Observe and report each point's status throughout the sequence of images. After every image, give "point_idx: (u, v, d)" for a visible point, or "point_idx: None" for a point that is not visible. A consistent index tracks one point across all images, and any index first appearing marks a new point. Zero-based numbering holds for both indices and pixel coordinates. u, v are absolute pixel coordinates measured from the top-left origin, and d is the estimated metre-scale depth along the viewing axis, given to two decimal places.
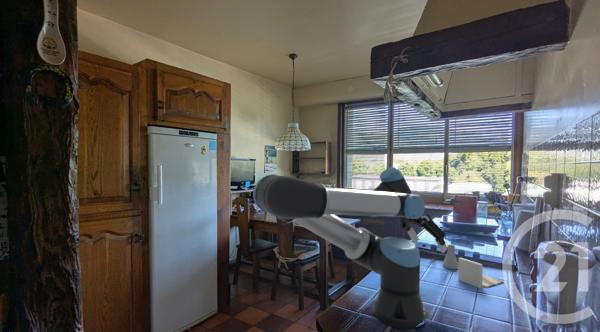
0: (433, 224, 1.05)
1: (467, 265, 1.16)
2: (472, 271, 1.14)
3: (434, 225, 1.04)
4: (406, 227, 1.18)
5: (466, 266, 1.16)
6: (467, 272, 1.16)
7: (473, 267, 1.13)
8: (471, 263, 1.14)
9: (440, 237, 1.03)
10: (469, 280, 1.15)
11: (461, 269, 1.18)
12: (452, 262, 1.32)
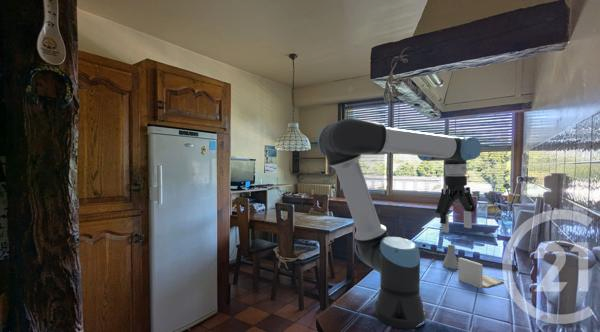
0: (443, 198, 1.09)
1: (467, 265, 1.16)
2: (472, 271, 1.14)
3: (443, 199, 1.09)
4: None
5: (466, 266, 1.16)
6: (467, 272, 1.16)
7: (473, 267, 1.13)
8: (471, 263, 1.14)
9: (436, 210, 1.09)
10: (469, 280, 1.15)
11: (461, 269, 1.18)
12: (452, 262, 1.32)
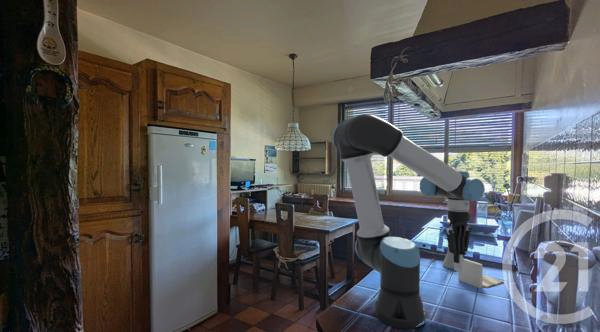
0: (450, 239, 1.10)
1: (467, 265, 1.16)
2: (472, 271, 1.14)
3: (450, 240, 1.10)
4: None
5: (466, 266, 1.16)
6: (467, 272, 1.16)
7: (473, 267, 1.13)
8: (471, 263, 1.14)
9: (449, 250, 1.12)
10: (469, 280, 1.15)
11: None
12: (452, 262, 1.32)
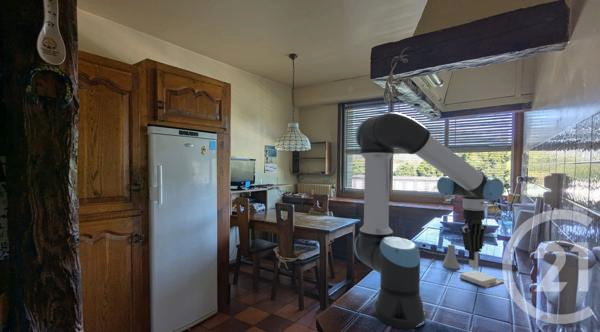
0: (466, 237, 1.14)
1: (481, 274, 1.19)
2: (483, 276, 1.17)
3: (466, 238, 1.14)
4: None
5: (479, 274, 1.19)
6: (476, 275, 1.18)
7: (487, 276, 1.17)
8: (487, 275, 1.18)
9: (465, 247, 1.16)
10: (474, 277, 1.16)
11: (471, 272, 1.20)
12: (452, 262, 1.32)
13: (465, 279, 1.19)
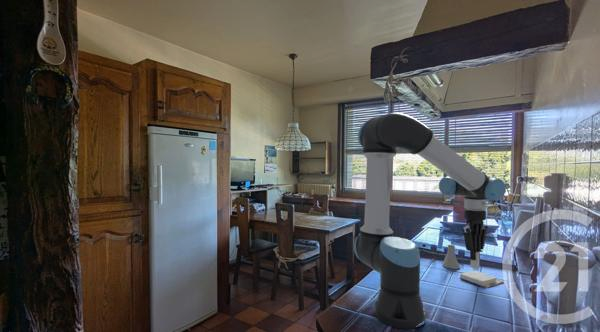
0: (467, 237, 1.14)
1: (481, 274, 1.19)
2: (483, 276, 1.17)
3: (468, 238, 1.14)
4: None
5: (479, 274, 1.19)
6: (476, 275, 1.18)
7: (487, 276, 1.17)
8: (487, 275, 1.18)
9: (466, 247, 1.16)
10: (474, 277, 1.16)
11: (471, 272, 1.20)
12: (452, 262, 1.32)
13: (465, 279, 1.19)
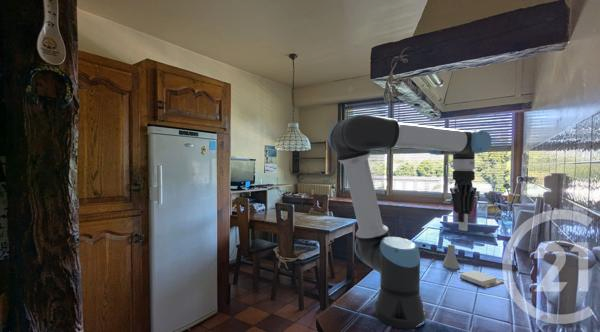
0: (455, 198, 1.11)
1: (481, 274, 1.19)
2: (483, 276, 1.17)
3: (456, 199, 1.11)
4: None
5: (479, 274, 1.19)
6: (476, 275, 1.18)
7: (487, 276, 1.17)
8: (487, 275, 1.18)
9: (454, 209, 1.13)
10: (474, 277, 1.16)
11: (471, 272, 1.20)
12: (452, 262, 1.32)
13: (465, 279, 1.19)
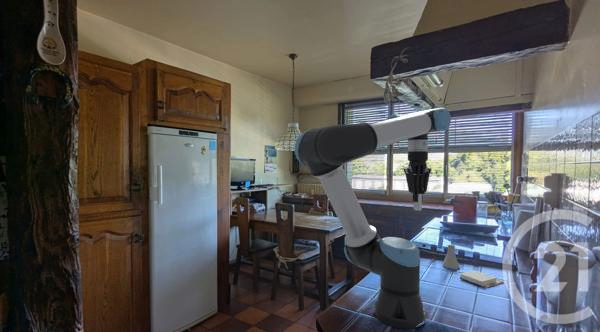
0: (409, 178, 1.13)
1: (481, 274, 1.19)
2: (483, 276, 1.17)
3: (409, 179, 1.13)
4: None
5: (479, 274, 1.19)
6: (476, 275, 1.18)
7: (487, 276, 1.17)
8: (487, 275, 1.18)
9: (408, 189, 1.15)
10: (474, 277, 1.16)
11: (471, 272, 1.20)
12: (452, 262, 1.32)
13: (465, 279, 1.19)
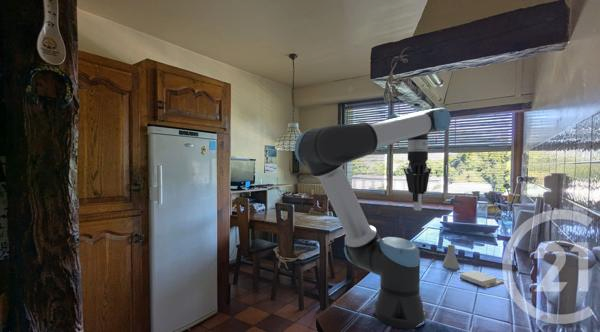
0: (409, 178, 1.13)
1: (481, 274, 1.19)
2: (483, 276, 1.17)
3: (409, 179, 1.13)
4: None
5: (479, 274, 1.19)
6: (476, 275, 1.18)
7: (487, 276, 1.17)
8: (487, 275, 1.18)
9: (408, 189, 1.15)
10: (474, 277, 1.16)
11: (471, 272, 1.20)
12: (452, 262, 1.32)
13: (465, 279, 1.19)
